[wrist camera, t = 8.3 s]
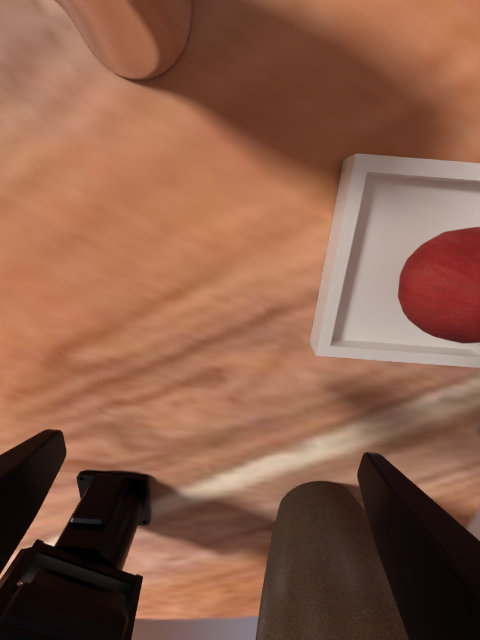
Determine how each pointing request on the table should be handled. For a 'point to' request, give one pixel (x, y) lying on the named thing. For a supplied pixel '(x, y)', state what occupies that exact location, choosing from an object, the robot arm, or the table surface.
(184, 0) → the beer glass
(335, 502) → the plant pot
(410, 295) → the onion
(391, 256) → the dish
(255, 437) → the table surface
